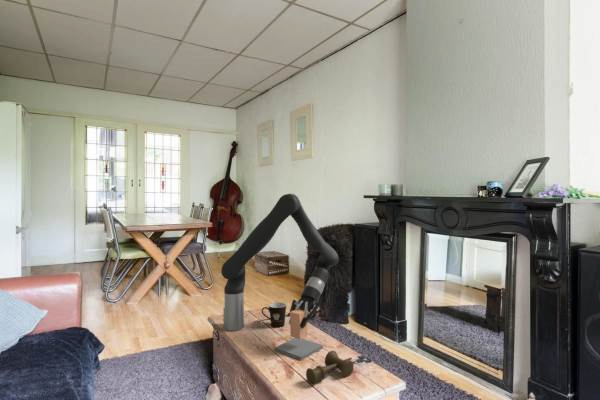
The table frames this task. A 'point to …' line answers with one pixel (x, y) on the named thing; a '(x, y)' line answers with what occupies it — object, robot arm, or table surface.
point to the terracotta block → (297, 324)
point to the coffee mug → (276, 314)
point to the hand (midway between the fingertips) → (296, 325)
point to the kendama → (330, 367)
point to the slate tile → (299, 348)
